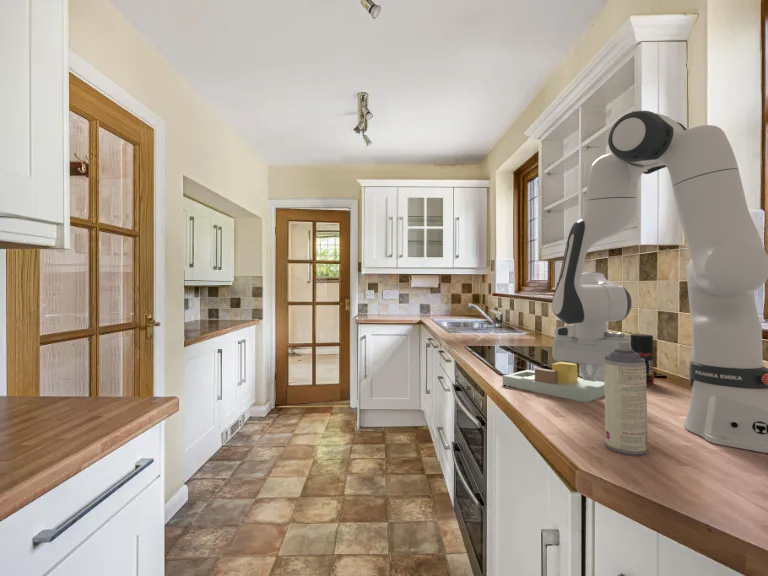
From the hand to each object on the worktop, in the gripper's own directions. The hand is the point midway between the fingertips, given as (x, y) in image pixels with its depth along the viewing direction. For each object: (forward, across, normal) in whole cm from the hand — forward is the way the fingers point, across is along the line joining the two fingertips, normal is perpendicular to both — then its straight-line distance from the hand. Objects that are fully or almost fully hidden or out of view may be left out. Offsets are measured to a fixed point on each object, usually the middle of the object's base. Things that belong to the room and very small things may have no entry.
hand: (589, 380), depth 112 cm
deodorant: (+5, -3, -28) cm, 29 cm away
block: (+1, +7, 0) cm, 7 cm away
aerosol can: (+5, -21, +32) cm, 39 cm away
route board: (+4, +10, 0) cm, 11 cm away
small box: (+5, +9, -21) cm, 23 cm away
